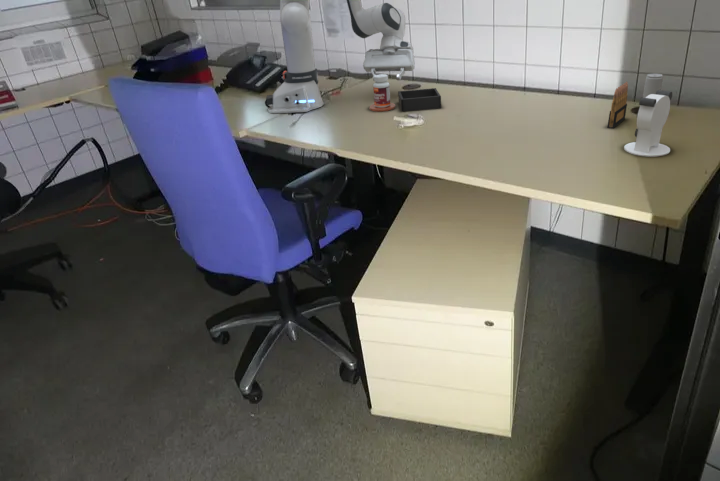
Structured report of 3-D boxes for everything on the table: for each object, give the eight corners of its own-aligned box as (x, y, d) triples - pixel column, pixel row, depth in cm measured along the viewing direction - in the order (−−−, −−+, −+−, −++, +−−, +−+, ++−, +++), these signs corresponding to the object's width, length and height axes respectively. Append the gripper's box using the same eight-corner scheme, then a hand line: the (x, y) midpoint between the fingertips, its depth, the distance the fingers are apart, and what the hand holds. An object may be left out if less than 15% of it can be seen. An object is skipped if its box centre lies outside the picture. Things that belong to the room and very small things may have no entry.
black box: (401, 111, 203) (401, 99, 201) (398, 102, 214) (398, 91, 212) (441, 108, 203) (440, 96, 200) (435, 99, 214) (435, 88, 212)
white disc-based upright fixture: (636, 139, 158) (645, 87, 151) (678, 147, 150) (689, 92, 143) (616, 150, 152) (624, 96, 144) (658, 159, 144) (669, 102, 137)
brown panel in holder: (618, 118, 176) (624, 80, 170) (624, 119, 175) (630, 81, 169) (607, 127, 169) (612, 88, 163) (613, 128, 168) (619, 89, 162)
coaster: (370, 112, 205) (369, 110, 205) (368, 105, 214) (368, 103, 213) (396, 110, 205) (396, 108, 204) (394, 103, 214) (394, 101, 213)
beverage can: (641, 114, 177) (648, 77, 172) (638, 110, 181) (645, 73, 176) (658, 114, 176) (665, 76, 170) (654, 110, 180) (661, 73, 175)
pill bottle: (372, 107, 208) (370, 77, 202) (377, 103, 213) (375, 73, 207) (387, 108, 205) (386, 77, 200) (392, 103, 210) (391, 73, 205)
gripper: (363, 44, 216) (358, 75, 212) (415, 42, 210) (410, 74, 206) (367, 54, 222) (363, 84, 218) (417, 52, 216) (413, 83, 212)
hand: (386, 79), depth 212 cm, fingers open, 8 cm apart
